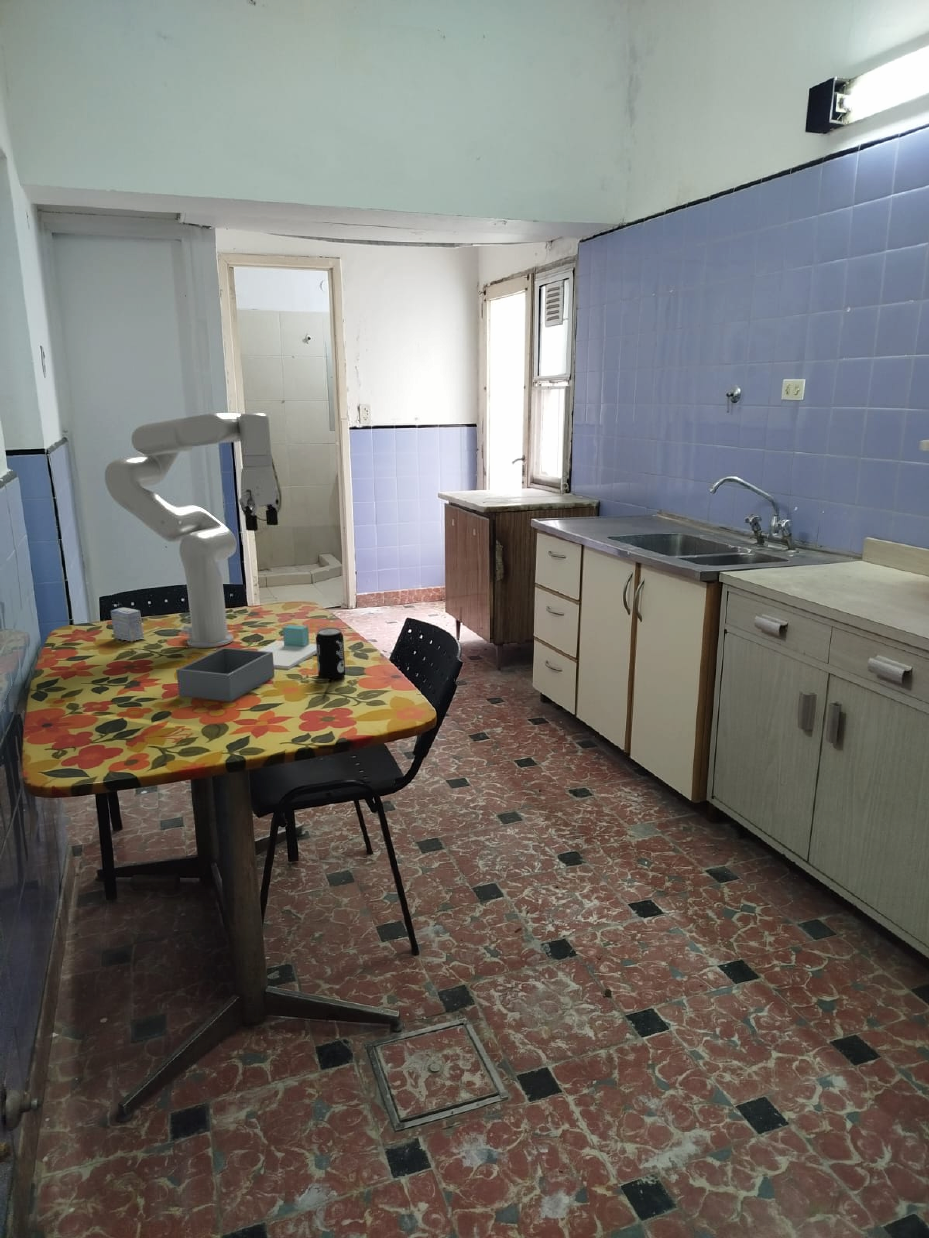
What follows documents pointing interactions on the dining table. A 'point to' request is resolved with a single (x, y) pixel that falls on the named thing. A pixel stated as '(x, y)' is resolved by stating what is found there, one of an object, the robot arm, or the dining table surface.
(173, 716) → the dining table surface
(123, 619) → the white upright block
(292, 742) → the dining table surface
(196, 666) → the tub
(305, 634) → the lid
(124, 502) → the robot arm
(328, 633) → the beverage can
